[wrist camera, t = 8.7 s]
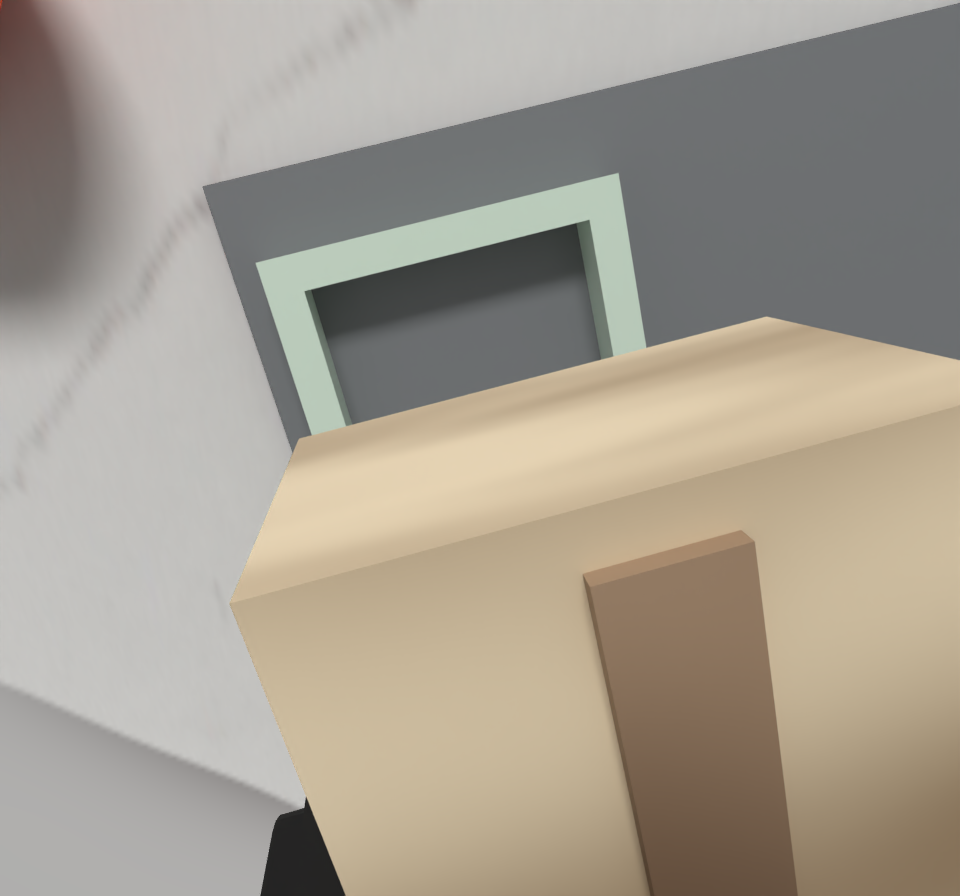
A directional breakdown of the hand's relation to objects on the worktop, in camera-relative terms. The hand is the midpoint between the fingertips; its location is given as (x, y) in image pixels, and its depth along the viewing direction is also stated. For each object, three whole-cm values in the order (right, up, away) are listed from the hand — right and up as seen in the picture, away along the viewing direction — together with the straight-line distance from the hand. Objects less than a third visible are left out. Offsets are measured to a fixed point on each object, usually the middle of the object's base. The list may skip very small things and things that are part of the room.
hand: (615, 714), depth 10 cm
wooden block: (0, 0, 0) cm, 1 cm away
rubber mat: (+4, +5, +14) cm, 15 cm away
